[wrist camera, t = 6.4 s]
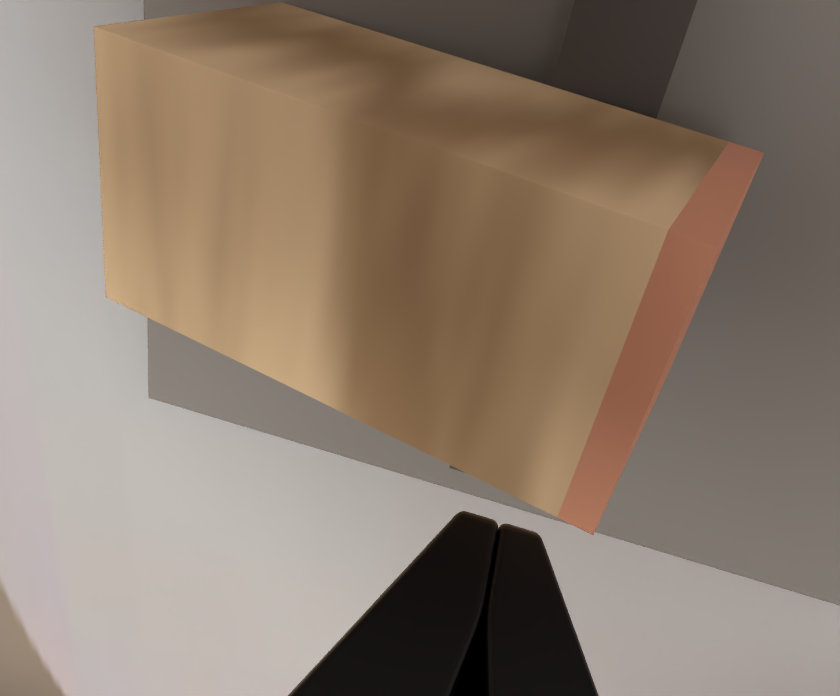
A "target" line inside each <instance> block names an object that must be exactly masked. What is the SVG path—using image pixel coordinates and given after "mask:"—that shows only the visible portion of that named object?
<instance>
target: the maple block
mask: <svg viewBox="0 0 840 696" xmlns="http://www.w3.org/2000/svg"><path fill="white" fill-rule="evenodd" d="M94 45H95V67H96V89H97V111H98V133H99V155H100V177H101V199H102V221H103V244H104V266H105V288H106V297H107V298H109V299H111V300H113V301H115V302H117V303H119V304H121V305H123V306H125V307H127V308H129V309H131V310H133V311H135V312H138V313H140V314H142V315H144V316H146V317H148V318H150V319H152V320H154V321H156V322H158V323H160V324H162V325H164V326H166V327H168V328H170V329H172V330H174V331H176V332H178V333H181V334H183V335H185V336H187V337H189V338H191V339H193V340H195V341H197V342H199V343H201V344H203V345H205V346H207V347H209V348H211V349H213V350H215V351H217V352H219V353H221V354H224V355H226V356H228V357H230V358H232V359H234V360H236V361H238V362H240V363H242V364H244V365H246V366H248V367H250V368H252V369H254V370H256V371H258V372H260V373H262V374H264V375H267V376H269V377H271V378H273V379H275V380H277V381H279V382H281V383H283V384H285V385H287V386H289V387H291V388H293V389H295V390H297V391H299V392H301V393H303V394H305V395H307V396H310V397H312V398H314V399H316V400H318V401H320V402H322V403H324V404H326V405H328V406H330V407H332V408H334V409H336V410H338V411H340V412H342V413H344V414H346V415H348V416H350V417H353V418H355V419H357V420H359V421H361V422H363V423H365V424H367V425H369V426H371V427H373V428H375V429H377V430H379V431H381V432H383V433H385V434H387V435H389V436H391V437H393V438H396V439H398V440H400V441H402V442H404V443H406V444H408V445H410V446H412V447H414V448H416V449H418V450H420V451H422V452H424V453H426V454H428V455H430V456H432V457H434V458H436V459H439V460H441V461H443V462H445V463H447V464H449V465H451V466H453V467H455V468H457V469H459V470H461V471H463V472H465V473H467V474H469V475H471V476H473V477H475V478H477V479H479V480H482V481H484V482H486V483H488V484H490V485H492V486H494V487H496V488H498V489H500V490H502V491H504V492H506V493H508V494H510V495H512V496H514V497H516V498H518V499H520V500H522V501H525V502H527V503H529V504H531V505H533V506H535V507H537V508H539V509H541V510H543V511H545V512H547V513H549V514H551V515H553V516H555V517H557V518H559V519H561V520H563V521H565V522H568V523H570V524H572V525H574V526H576V527H578V528H580V529H582V530H584V531H586V532H588V533H590V534H592V535H593V534H594V532H595V530H596V528H597V526H598V523H599V521H600V519H601V517H602V515H603V513H604V511H605V508H606V506H607V504H608V502H609V500H610V498H611V496H612V494H613V491H614V489H615V487H616V485H617V483H618V481H619V479H620V476H621V474H622V472H623V470H624V468H625V466H626V464H627V461H628V459H629V457H630V455H631V453H632V451H633V449H634V447H635V444H636V442H637V440H638V438H639V436H640V434H641V432H642V429H643V427H644V425H645V423H646V421H647V419H648V417H649V414H650V412H651V410H652V408H653V406H654V404H655V402H656V400H657V397H658V395H659V393H660V391H661V389H662V387H663V384H664V382H665V380H666V378H667V375H668V373H669V371H670V368H671V366H672V364H673V361H674V359H675V357H676V354H677V352H678V350H679V348H680V345H681V343H682V341H683V338H684V336H685V334H686V331H687V329H688V327H689V325H690V322H691V320H692V318H693V315H694V313H695V311H696V308H697V306H698V304H699V301H700V299H701V297H702V295H703V292H704V290H705V288H706V285H707V283H708V281H709V278H710V276H711V274H712V272H713V269H714V267H715V265H716V262H717V260H718V258H719V255H720V253H721V251H722V249H723V246H724V244H725V242H726V239H727V237H728V235H729V232H730V230H731V228H732V225H733V223H734V221H735V219H736V216H737V214H738V212H739V209H740V207H741V205H742V202H743V200H744V198H745V196H746V193H747V191H748V189H749V186H750V184H751V182H752V179H753V177H754V175H755V173H756V170H757V168H758V166H759V163H760V161H761V159H762V156H763V154H764V153H763V152H760V151H757V150H754V149H751V148H747V147H744V146H741V145H738V144H735V143H731V142H728V141H725V140H722V139H719V138H715V137H712V136H709V135H706V134H703V133H699V132H696V131H693V130H690V129H687V128H683V127H680V126H677V125H674V124H671V123H667V122H664V121H661V120H658V119H655V118H651V117H648V116H645V115H642V114H638V113H635V112H632V111H629V110H626V109H622V108H619V107H616V106H613V105H610V104H606V103H603V102H600V101H597V100H594V99H590V98H587V97H584V96H581V95H578V94H574V93H571V92H568V91H565V90H562V89H558V88H555V87H552V86H549V85H546V84H542V83H539V82H536V81H533V80H530V79H526V78H523V77H520V76H517V75H514V74H510V73H507V72H504V71H501V70H498V69H494V68H491V67H488V66H485V65H482V64H478V63H475V62H472V61H469V60H466V59H462V58H459V57H456V56H453V55H450V54H446V53H443V52H440V51H437V50H434V49H430V48H427V47H424V46H421V45H418V44H414V43H411V42H408V41H405V40H402V39H398V38H395V37H392V36H389V35H386V34H382V33H379V32H376V31H373V30H370V29H366V28H363V27H360V26H357V25H354V24H350V23H347V22H344V21H341V20H338V19H334V18H331V17H328V16H325V15H321V14H318V13H315V12H312V11H309V10H305V9H302V8H299V7H296V6H293V5H289V4H286V3H283V2H278V3H270V4H262V5H255V6H247V7H239V8H231V9H224V10H216V11H208V12H201V13H193V14H185V15H178V16H170V17H162V18H155V19H147V20H139V21H132V22H124V23H116V24H109V25H101V26H94Z"/></svg>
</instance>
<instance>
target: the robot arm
mask: <svg viewBox="0 0 840 696" xmlns="http://www.w3.org/2000/svg"><path fill="white" fill-rule="evenodd" d="M288 696H598V693H597V690H596V687H595V685H594V682H593V679H592V676H591V673H590V671H589V668H588V665H587V662H586V660H585V657H584V654H583V651H582V649H581V646H580V643H579V640H578V638H577V635H576V632H575V629H574V626H573V624H572V621H571V618H570V615H569V613H568V610H567V607H566V604H565V602H564V599H563V596H562V593H561V591H560V588H559V585H558V582H557V579H556V577H555V574H554V571H553V568H552V566H551V563H550V560H549V557H548V555H547V552H546V549H545V546H544V544H543V541H542V539H541V537H540V536H539V535H538V534H537V533H535V532H533V531H530V530H526V529H523V528H520V527H516V526H513V525H510V524H502V525H501V526H500V527H499V528H498V525H497V523H496V521H495V520H493V519H489V518H486V517H483V516H479V515H476V514H473V513H469V512H466V511H462V512H459V513H458V514H456V515H455V516H454V517H453V518H452V520H451V521H450V522H449V523H448V524H447V525H446V526H445V527H444V528H443V529H442V530H441V531H440V532H439V534H438V535H437V536H436V537H435V538H434V539H433V540H432V541H431V542H430V543H429V544H428V545H427V546H426V548H425V549H424V550H423V551H422V552H421V553H420V554H419V555H418V556H417V557H416V558H415V559H414V560H413V562H412V563H411V564H410V565H409V566H408V567H407V568H406V569H405V570H404V571H403V572H402V573H401V574H400V575H399V577H398V578H397V579H396V580H395V581H394V582H393V583H392V584H391V585H390V586H389V587H388V588H387V589H386V591H385V592H384V593H383V594H382V595H381V596H380V597H379V598H378V599H377V600H376V601H375V602H374V603H373V605H372V606H371V607H370V608H369V609H368V610H367V611H366V612H365V613H364V614H363V615H362V616H361V617H360V619H359V620H358V621H357V622H356V623H355V624H354V625H353V626H352V627H351V628H350V629H349V630H348V631H347V633H346V634H345V635H344V636H343V637H342V638H341V639H340V640H339V641H338V642H337V643H336V644H335V645H334V647H333V648H332V649H331V650H330V651H329V652H328V653H327V654H326V655H325V656H324V657H323V658H322V659H321V661H320V662H319V663H318V664H317V665H316V666H315V667H314V668H313V669H312V670H311V671H310V672H309V673H308V675H307V676H306V677H305V678H304V679H303V680H302V681H301V682H300V683H299V684H298V685H297V686H296V687H295V689H294V690H293V691H292V692H291V693H290V694H289V695H288Z"/></svg>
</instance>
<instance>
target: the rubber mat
mask: <svg viewBox="0 0 840 696" xmlns="http://www.w3.org/2000/svg"><path fill="white" fill-rule="evenodd" d="M278 2H283V3H286V4H289V5H293V6H296V7H299V8H302V9H305V10H309V11H312V12H315V13H318V14H321V15H325V16H328V17H331V18H334V19H338V20H341V21H344V22H347V23H350V24H354V25H357V26H360V27H363V28H366V29H370V30H373V31H376V32H379V33H382V34H386V35H389V36H392V37H395V38H398V39H402V40H405V41H408V42H411V43H414V44H418V45H421V46H424V47H427V48H430V49H434V50H437V51H440V52H443V53H446V54H450V55H453V56H456V57H459V58H462V59H466V60H469V61H472V62H475V63H478V64H482V65H485V66H488V67H491V68H494V69H498V70H501V71H504V72H507V73H510V74H514V75H517V76H520V77H523V78H526V79H530V80H533V81H536V82H539V83H542V84H546V85H549V86H552V87H555V88H558V89H562V90H565V91H568V92H571V93H574V94H578V95H581V96H584V97H587V98H590V99H594V100H597V101H600V102H603V103H606V104H610V105H613V106H616V107H619V108H622V109H626V110H629V111H632V112H635V113H638V114H642V115H645V116H648V117H651V118H655V119H658V120H661V121H664V122H667V123H671V124H674V125H677V126H680V127H683V128H687V129H690V130H693V131H696V132H699V133H703V134H706V135H709V136H712V137H715V138H719V139H722V140H725V141H728V142H731V143H735V144H738V145H741V146H744V147H747V148H751V149H754V150H757V151H760V152H763V153H764V154H763V156H762V159H761V161H760V163H759V166H758V168H757V170H756V173H755V175H754V177H753V179H752V182H751V184H750V186H749V189H748V191H747V193H746V196H745V198H744V200H743V202H742V205H741V207H740V209H739V212H738V214H737V216H736V219H735V221H734V223H733V225H732V228H731V230H730V232H729V235H728V237H727V239H726V242H725V244H724V246H723V249H722V251H721V253H720V255H719V258H718V260H717V262H716V265H715V267H714V269H713V272H712V274H711V276H710V278H709V281H708V283H707V285H706V288H705V290H704V292H703V295H702V297H701V299H700V301H699V304H698V306H697V308H696V311H695V313H694V315H693V318H692V320H691V322H690V325H689V327H688V329H687V331H686V334H685V336H684V338H683V341H682V343H681V345H680V348H679V350H678V352H677V354H676V357H675V359H674V361H673V364H672V366H671V368H670V371H669V373H668V375H667V378H666V380H665V382H664V384H663V387H662V389H661V391H660V393H659V395H658V397H657V400H656V402H655V404H654V406H653V408H652V410H651V412H650V414H649V417H648V419H647V421H646V423H645V425H644V427H643V429H642V432H641V434H640V436H639V438H638V440H637V442H636V444H635V447H634V449H633V451H632V453H631V455H630V457H629V459H628V461H627V464H626V466H625V468H624V470H623V472H622V474H621V476H620V479H619V481H618V483H617V485H616V487H615V489H614V491H613V494H612V496H611V498H610V500H609V502H608V504H607V506H606V508H605V511H604V513H603V515H602V517H601V519H600V521H599V523H598V526H597V528H596V530H595V532H597V533H601V534H604V535H607V536H611V537H614V538H617V539H621V540H624V541H627V542H631V543H634V544H637V545H641V546H644V547H647V548H650V549H654V550H657V551H660V552H664V553H667V554H670V555H674V556H677V557H680V558H684V559H687V560H690V561H694V562H697V563H700V564H704V565H707V566H710V567H714V568H717V569H720V570H724V571H727V572H730V573H734V574H737V575H740V576H744V577H747V578H750V579H754V580H757V581H760V582H764V583H767V584H770V585H774V586H777V587H780V588H784V589H787V590H790V591H794V592H797V593H800V594H804V595H807V596H810V597H814V598H817V599H820V600H824V601H827V602H830V603H834V604H837V605H840V0H144V20H147V19H155V18H162V17H170V16H178V15H185V14H193V13H201V12H208V11H216V10H224V9H231V8H239V7H247V6H255V5H262V4H270V3H278ZM148 392H149V398H151V399H155V400H158V401H161V402H165V403H168V404H171V405H175V406H178V407H181V408H185V409H188V410H191V411H194V412H198V413H201V414H204V415H208V416H211V417H214V418H218V419H221V420H224V421H228V422H231V423H234V424H238V425H241V426H244V427H248V428H251V429H254V430H258V431H261V432H264V433H268V434H271V435H274V436H278V437H281V438H284V439H288V440H291V441H294V442H298V443H301V444H304V445H308V446H311V447H314V448H318V449H321V450H324V451H328V452H331V453H334V454H338V455H341V456H344V457H348V458H351V459H354V460H358V461H361V462H364V463H368V464H371V465H374V466H378V467H381V468H384V469H388V470H391V471H394V472H398V473H401V474H404V475H408V476H411V477H414V478H418V479H421V480H424V481H427V482H431V483H434V484H437V485H441V486H444V487H447V488H451V489H454V490H457V491H461V492H464V493H467V494H471V495H474V496H477V497H481V498H484V499H487V500H491V501H494V502H497V503H501V504H504V505H507V506H511V507H514V508H517V509H521V510H524V511H527V512H531V513H534V514H537V515H541V516H544V517H547V518H551V519H554V520H557V521H561V522H564V523H567V524H570V523H568V522H565V521H563V520H561V519H559V518H557V517H555V516H553V515H551V514H549V513H547V512H545V511H543V510H541V509H539V508H537V507H535V506H533V505H531V504H529V503H527V502H525V501H522V500H520V499H518V498H516V497H514V496H512V495H510V494H508V493H506V492H504V491H502V490H500V489H498V488H496V487H494V486H492V485H490V484H488V483H486V482H484V481H482V480H479V479H477V478H475V477H473V476H471V475H469V474H467V473H465V472H463V471H461V470H459V469H457V468H455V467H453V466H451V465H449V464H447V463H445V462H443V461H441V460H439V459H436V458H434V457H432V456H430V455H428V454H426V453H424V452H422V451H420V450H418V449H416V448H414V447H412V446H410V445H408V444H406V443H404V442H402V441H400V440H398V439H396V438H393V437H391V436H389V435H387V434H385V433H383V432H381V431H379V430H377V429H375V428H373V427H371V426H369V425H367V424H365V423H363V422H361V421H359V420H357V419H355V418H353V417H350V416H348V415H346V414H344V413H342V412H340V411H338V410H336V409H334V408H332V407H330V406H328V405H326V404H324V403H322V402H320V401H318V400H316V399H314V398H312V397H310V396H307V395H305V394H303V393H301V392H299V391H297V390H295V389H293V388H291V387H289V386H287V385H285V384H283V383H281V382H279V381H277V380H275V379H273V378H271V377H269V376H267V375H264V374H262V373H260V372H258V371H256V370H254V369H252V368H250V367H248V366H246V365H244V364H242V363H240V362H238V361H236V360H234V359H232V358H230V357H228V356H226V355H224V354H221V353H219V352H217V351H215V350H213V349H211V348H209V347H207V346H205V345H203V344H201V343H199V342H197V341H195V340H193V339H191V338H189V337H187V336H185V335H183V334H181V333H178V332H176V331H174V330H172V329H170V328H168V327H166V326H164V325H162V324H160V323H158V322H156V321H154V320H152V319H150V318H148ZM571 525H572V524H571Z"/></svg>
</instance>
